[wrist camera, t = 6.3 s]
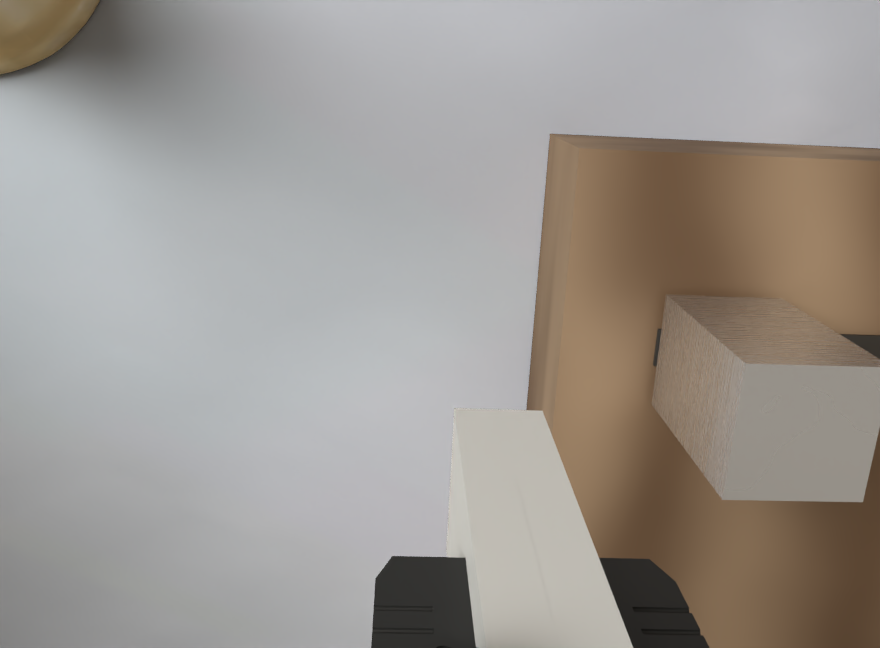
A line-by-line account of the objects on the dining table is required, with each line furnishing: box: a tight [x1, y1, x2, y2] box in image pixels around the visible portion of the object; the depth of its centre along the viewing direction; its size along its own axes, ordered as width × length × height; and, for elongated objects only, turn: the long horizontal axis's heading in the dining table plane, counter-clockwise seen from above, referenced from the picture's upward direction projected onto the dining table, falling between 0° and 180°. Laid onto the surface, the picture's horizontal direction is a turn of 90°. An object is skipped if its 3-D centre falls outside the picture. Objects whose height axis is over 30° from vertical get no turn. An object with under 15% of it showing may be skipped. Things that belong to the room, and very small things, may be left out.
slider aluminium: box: [652, 295, 880, 502], centre depth 19 cm, size 3×3×5 cm
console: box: [527, 134, 880, 648], centre depth 27 cm, size 19×26×4 cm
